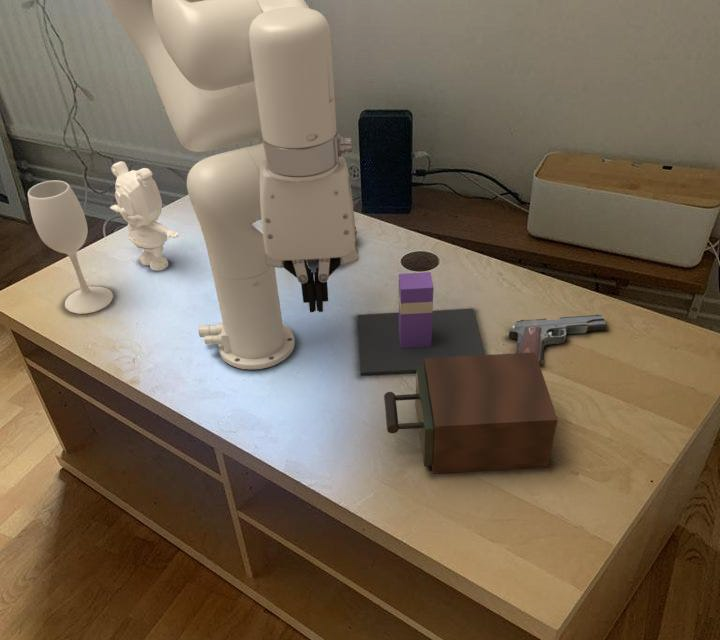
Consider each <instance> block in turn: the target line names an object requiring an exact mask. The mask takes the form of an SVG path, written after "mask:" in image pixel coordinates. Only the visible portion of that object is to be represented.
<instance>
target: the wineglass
mask: <svg viewBox="0 0 720 640" xmlns="http://www.w3.org/2000/svg"><path fill="white" fill-rule="evenodd" d="M27 199H28V200H27V201H28V206H29V211H30V215H31V218H32V222H33V225H34V227H35V230H36V232H37V234H38V236H39V238H40V240H41V241H42V242H43V244H45V245H46V246H47V247H48V248H50V249H51V250H53V251H56V252H57V253H61V254H65V255H66V256H68V257H69V259H70V261H71V264H72V266H73V268H74V271H75V274H76V277H77V280H78V284H79V286H80V289H77V290H75V291H74V292H72V293H71V294H69V296H67V297H66V299H65V300H64V308H65V309H66V310H67V311H69V313H73V314H77V315H84V314H92V313H95V312H98V311H101V310H103V309H104V308H106V307H107V306H108V305H110V303H112V301H113V299H114V293H113V292H112V291H111V290H110V288H109V289H108V288H106V287H103V286H88V283H87V281H86V279H85V277H84V275H83V271H82V269H81V266H80V263H79V260H78V255H77V253H78V251H79V250H80V249H81V248H82V247H83V246H84V244H85V243H86V240H87V237H88V231H89V228H88V223H87V219H86V216H85V212H84V210H83V208H82V205H81V203H80V201H79V199H78V198H77V196H76V194H75V192H74V190H73V189H72V187H71V185H70V184H69V183H67V182H66V181H64V180H57V179H56V180H53V179H52V180H46V181H42V182H40V183H36V184H35V185H33V186H32V187H30V188H29V189H28V191H27Z"/></svg>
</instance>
